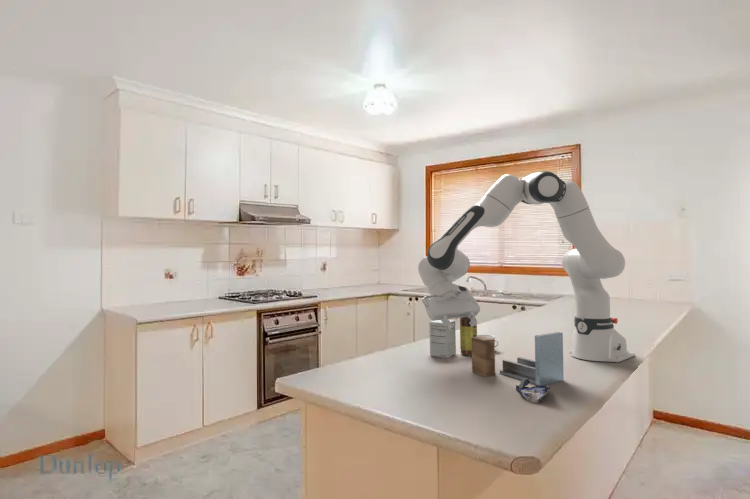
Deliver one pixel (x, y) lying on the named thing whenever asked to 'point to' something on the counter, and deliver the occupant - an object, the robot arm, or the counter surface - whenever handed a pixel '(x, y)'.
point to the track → (540, 361)
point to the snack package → (532, 389)
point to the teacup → (488, 337)
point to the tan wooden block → (483, 356)
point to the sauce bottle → (466, 335)
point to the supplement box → (442, 339)
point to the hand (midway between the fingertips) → (463, 326)
